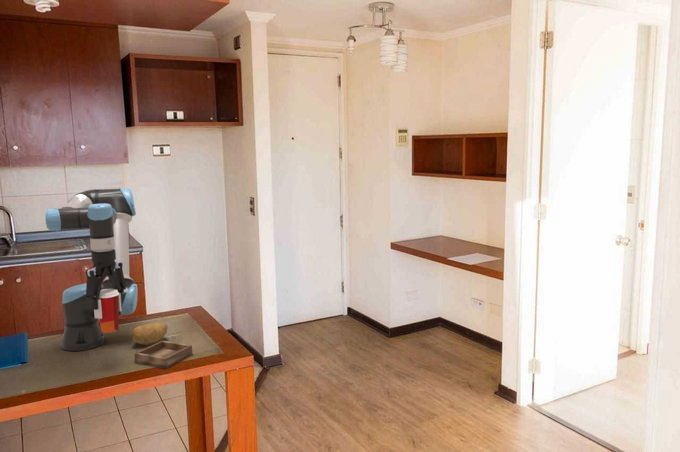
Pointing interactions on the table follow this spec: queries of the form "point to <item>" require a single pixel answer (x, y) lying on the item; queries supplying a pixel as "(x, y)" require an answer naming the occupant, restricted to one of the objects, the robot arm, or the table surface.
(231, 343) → the table surface
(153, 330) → the potato
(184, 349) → the tray
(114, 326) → the paper cup
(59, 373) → the table surface
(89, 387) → the table surface
